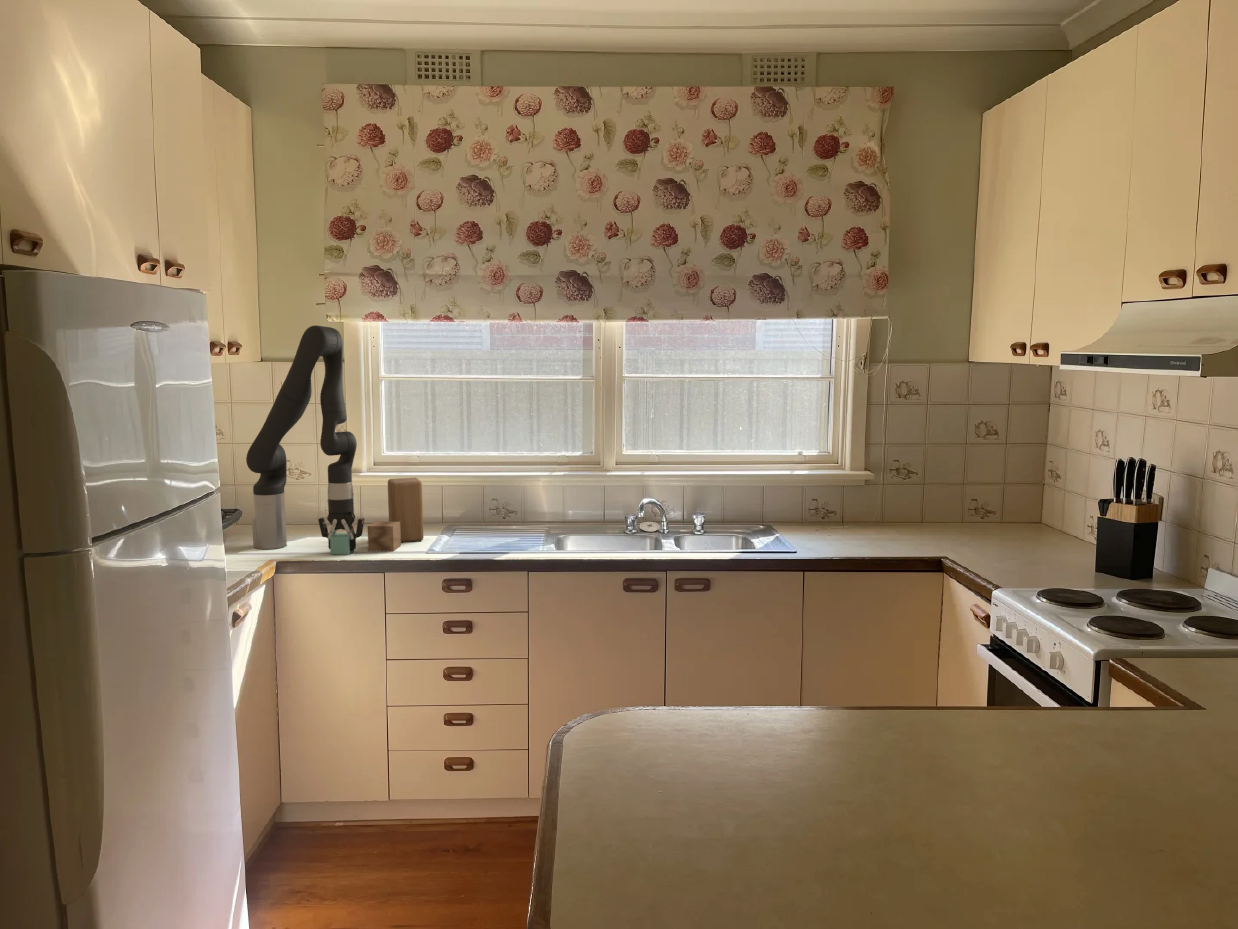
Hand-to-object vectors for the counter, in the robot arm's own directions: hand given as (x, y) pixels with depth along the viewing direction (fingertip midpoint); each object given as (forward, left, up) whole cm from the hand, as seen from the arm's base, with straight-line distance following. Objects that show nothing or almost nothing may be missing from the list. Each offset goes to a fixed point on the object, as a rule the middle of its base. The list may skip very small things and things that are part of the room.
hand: (342, 550), depth 285 cm
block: (+14, +21, -1) cm, 25 cm away
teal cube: (0, 0, -1) cm, 1 cm away
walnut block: (+11, +7, -1) cm, 13 cm away
